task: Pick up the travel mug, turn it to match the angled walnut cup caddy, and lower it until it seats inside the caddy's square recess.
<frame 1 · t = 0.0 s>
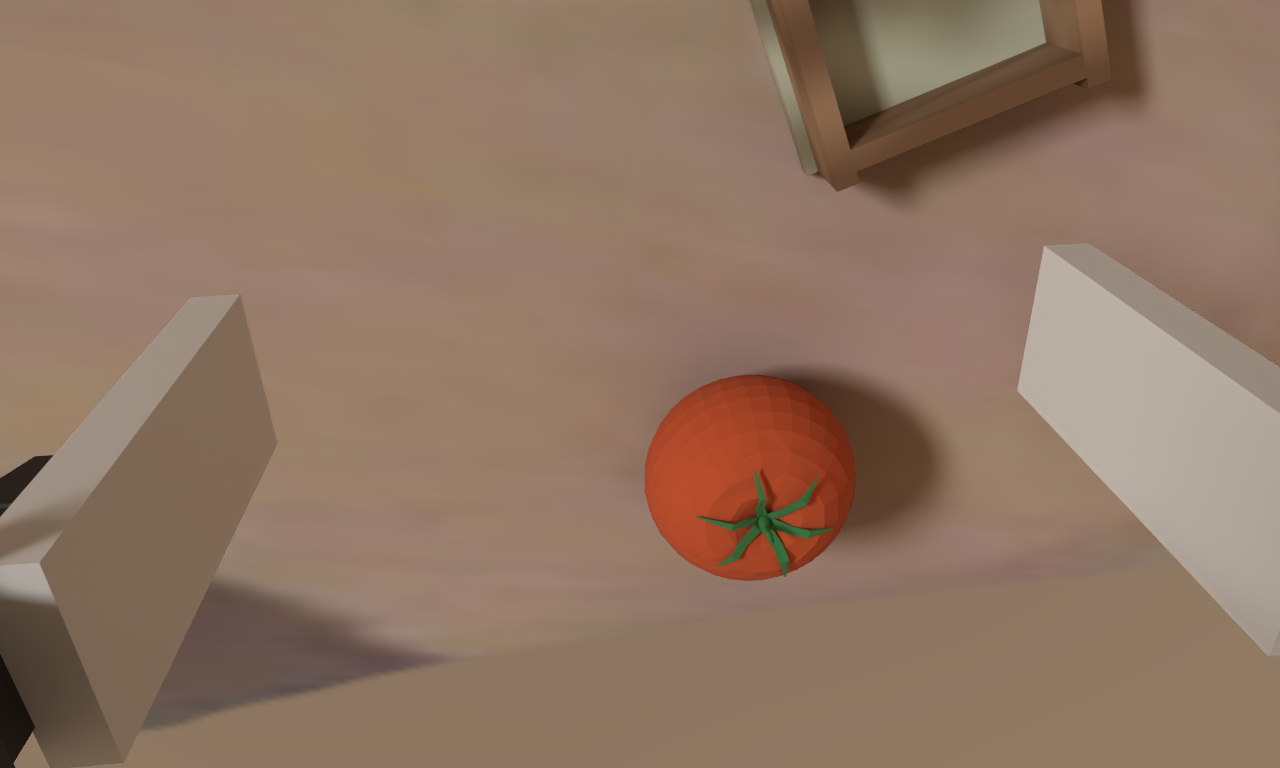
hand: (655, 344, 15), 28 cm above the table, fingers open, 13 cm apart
tomato: (731, 426, 50), on the table
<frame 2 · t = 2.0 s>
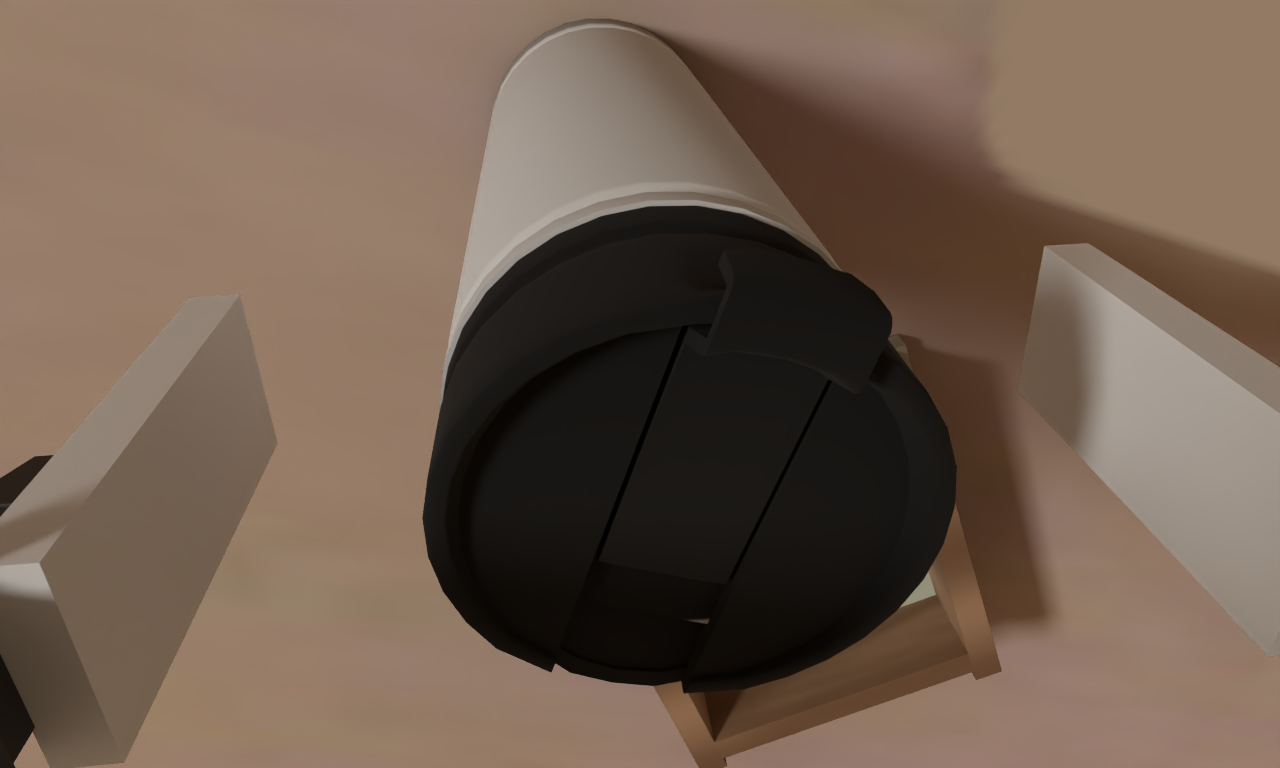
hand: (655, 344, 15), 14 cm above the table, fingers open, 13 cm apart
walnut caddy: (776, 535, 36), on the table
travel mug: (599, 121, 28), on the table
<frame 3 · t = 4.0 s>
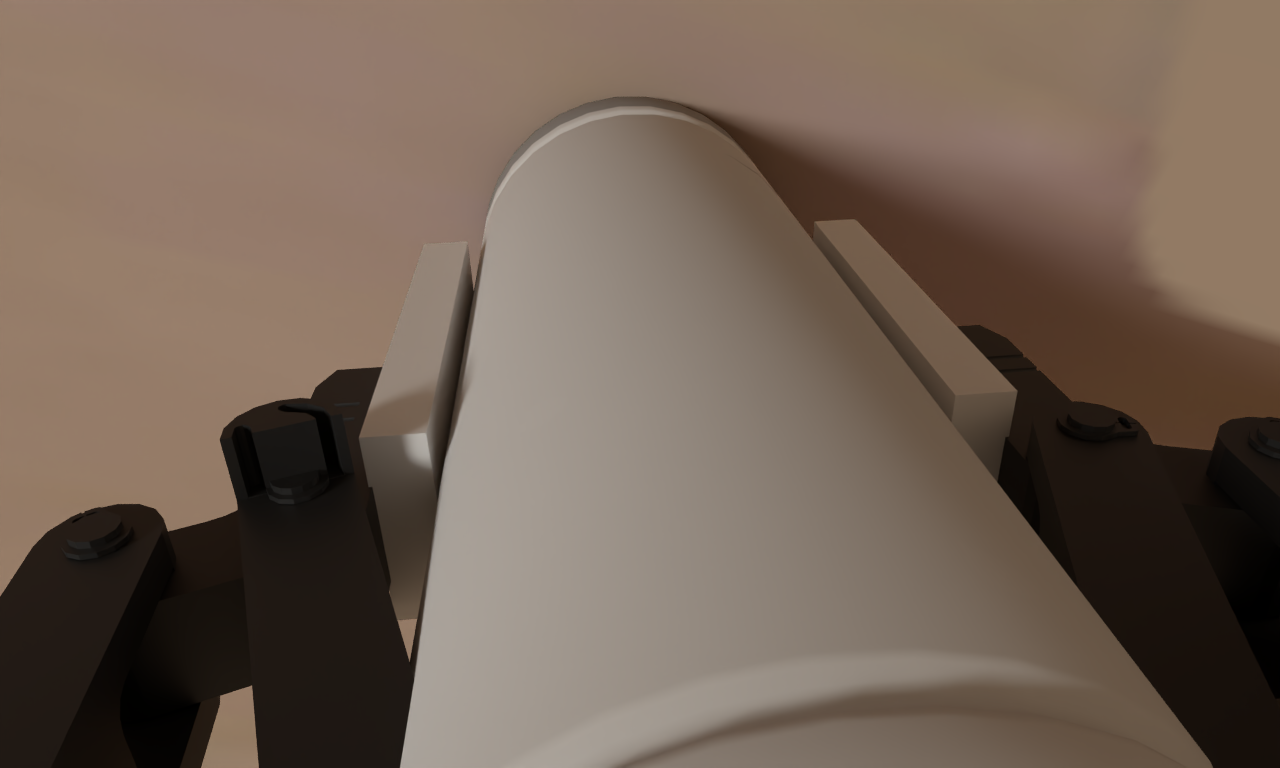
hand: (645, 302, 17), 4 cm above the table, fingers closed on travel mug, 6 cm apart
travel mug: (630, 229, 21), on the table, touching gripper
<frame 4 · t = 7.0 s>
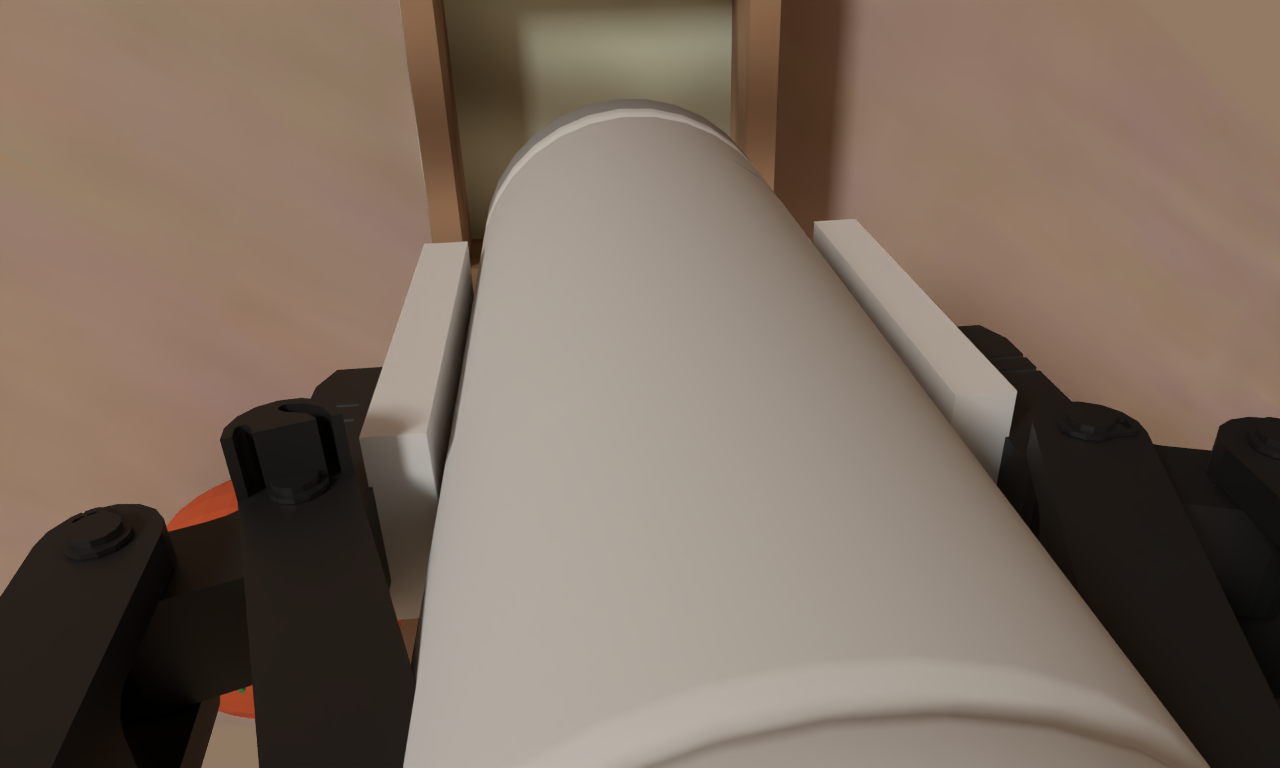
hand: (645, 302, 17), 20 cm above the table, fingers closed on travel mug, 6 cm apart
walnut caddy: (593, 95, 34), on the table
travel mug: (630, 231, 21), point 16 cm above the table, touching gripper
tomato: (305, 521, 42), on the table
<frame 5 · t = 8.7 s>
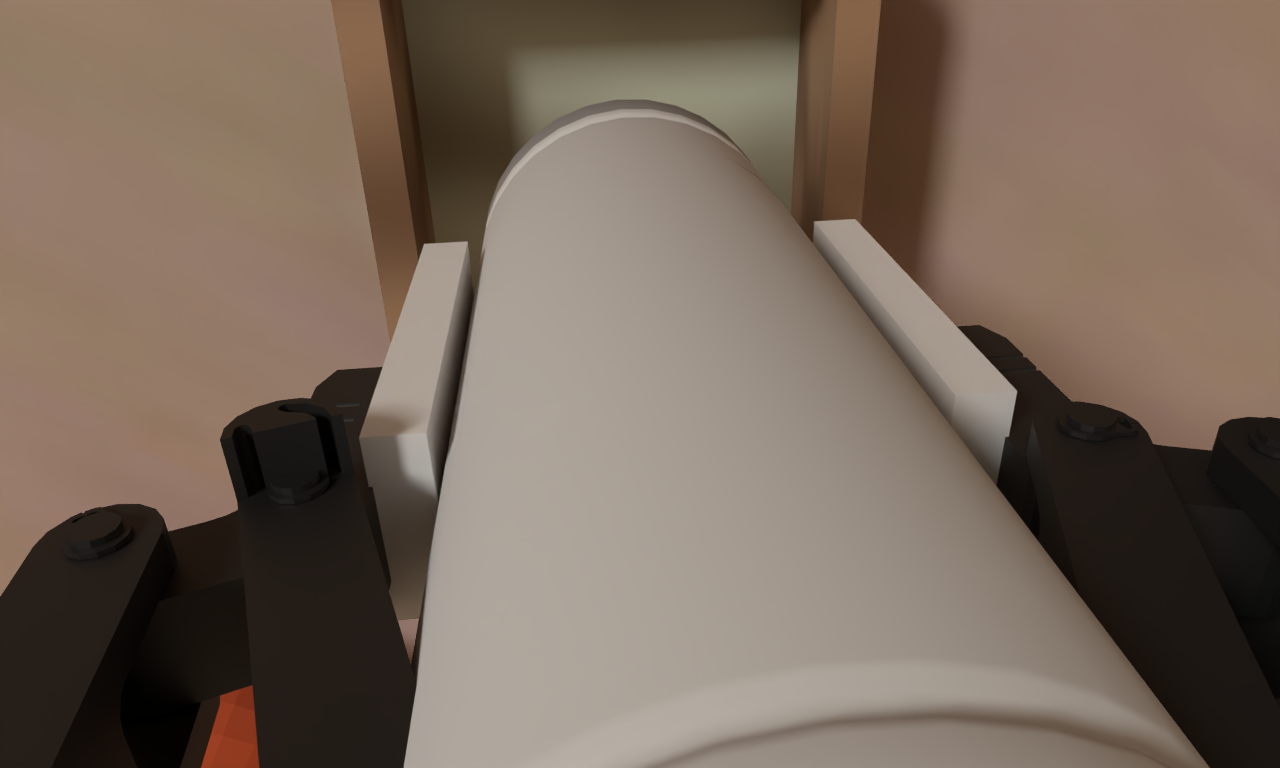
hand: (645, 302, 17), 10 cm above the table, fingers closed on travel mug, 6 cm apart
walnut caddy: (610, 155, 26), on the table
travel mug: (630, 231, 21), point 6 cm above the table, touching gripper
tomato: (245, 673, 34), on the table
when the fingers open (7 cm above the table, at t = 10.2 s): travel mug drops 2 cm, resting on walnut caddy.
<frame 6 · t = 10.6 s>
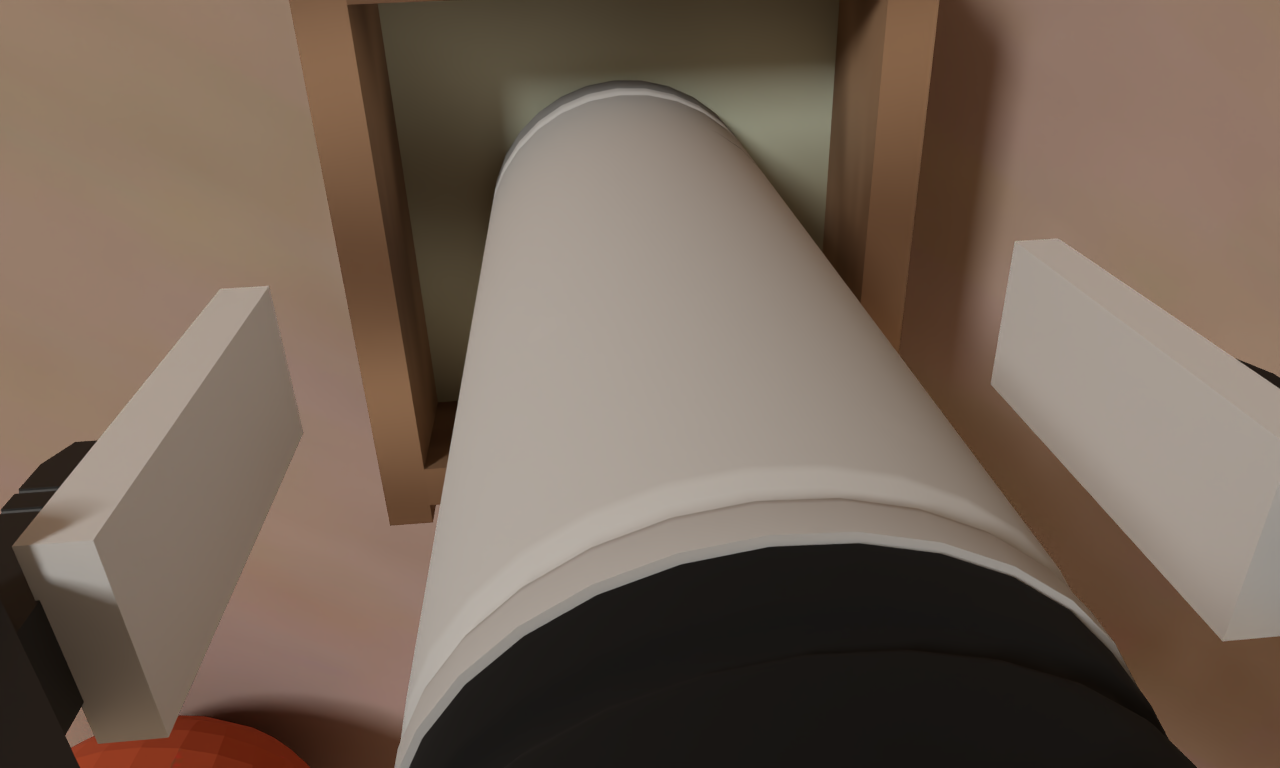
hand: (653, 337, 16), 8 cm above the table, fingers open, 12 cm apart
walnut caddy: (618, 196, 23), on the table
travel mug: (626, 203, 22), point 1 cm above the table, touching walnut caddy
tomato: (216, 754, 31), on the table
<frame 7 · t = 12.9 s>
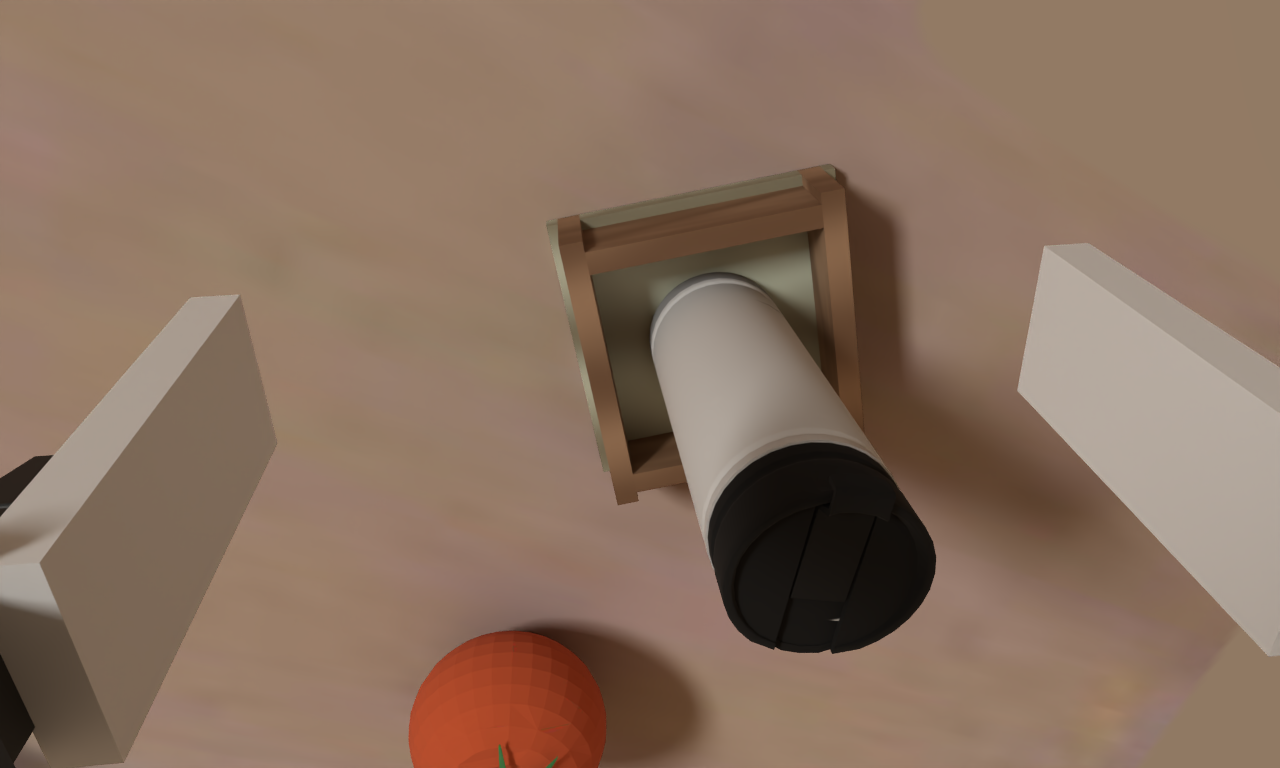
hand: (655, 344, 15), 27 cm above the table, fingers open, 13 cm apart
walnut caddy: (709, 323, 45), on the table
travel mug: (714, 328, 44), point 1 cm above the table, touching walnut caddy
tomato: (512, 661, 53), on the table
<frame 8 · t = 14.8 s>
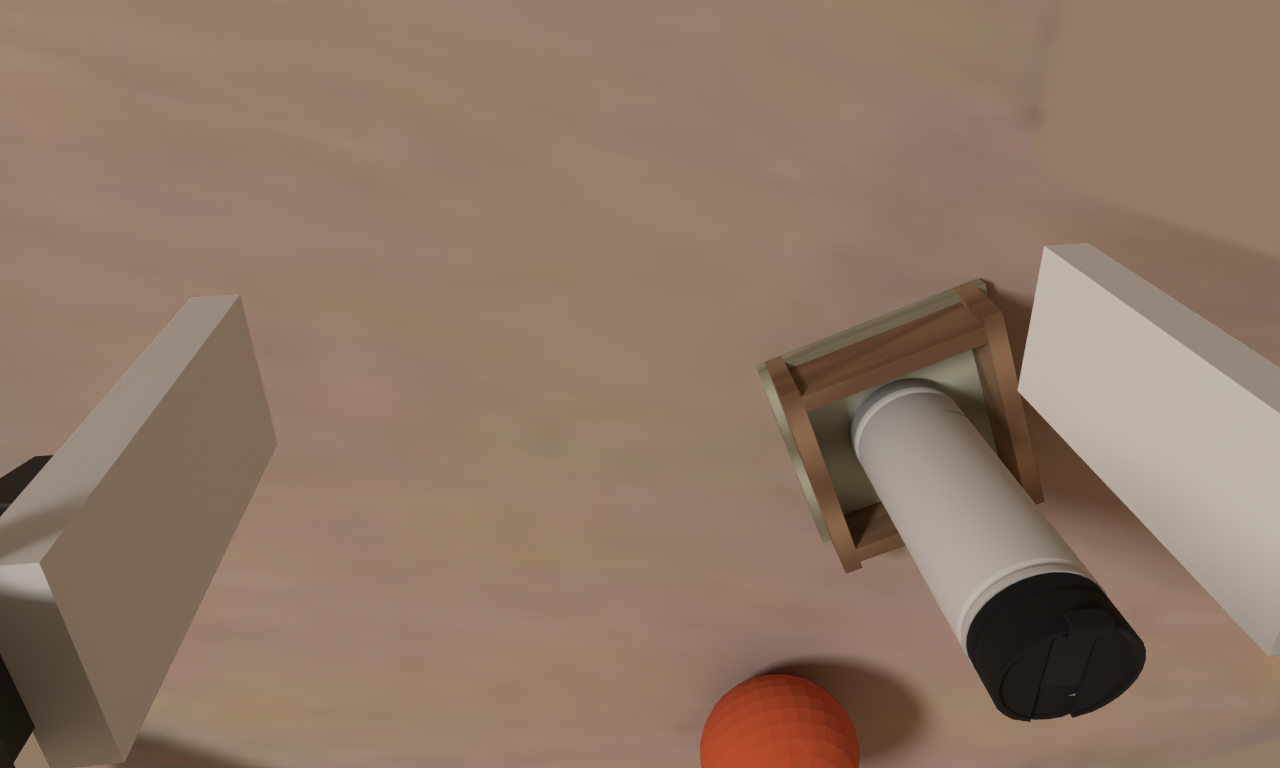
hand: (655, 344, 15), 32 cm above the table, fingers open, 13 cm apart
walnut caddy: (894, 415, 54), on the table
travel mug: (900, 419, 54), point 1 cm above the table, touching walnut caddy
tomato: (762, 694, 65), on the table
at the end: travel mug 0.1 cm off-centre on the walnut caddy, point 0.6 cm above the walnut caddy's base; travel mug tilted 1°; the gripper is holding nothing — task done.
